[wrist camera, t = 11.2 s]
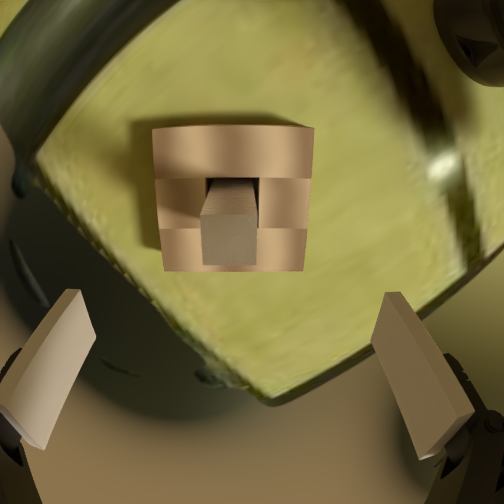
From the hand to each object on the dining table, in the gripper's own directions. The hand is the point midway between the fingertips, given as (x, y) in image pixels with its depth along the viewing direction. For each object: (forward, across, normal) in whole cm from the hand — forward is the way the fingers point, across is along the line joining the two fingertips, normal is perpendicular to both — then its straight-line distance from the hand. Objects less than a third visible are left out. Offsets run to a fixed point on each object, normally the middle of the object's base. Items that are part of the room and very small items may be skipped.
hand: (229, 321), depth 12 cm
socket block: (+20, 0, 0) cm, 21 cm away
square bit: (+20, -1, 0) cm, 20 cm away
